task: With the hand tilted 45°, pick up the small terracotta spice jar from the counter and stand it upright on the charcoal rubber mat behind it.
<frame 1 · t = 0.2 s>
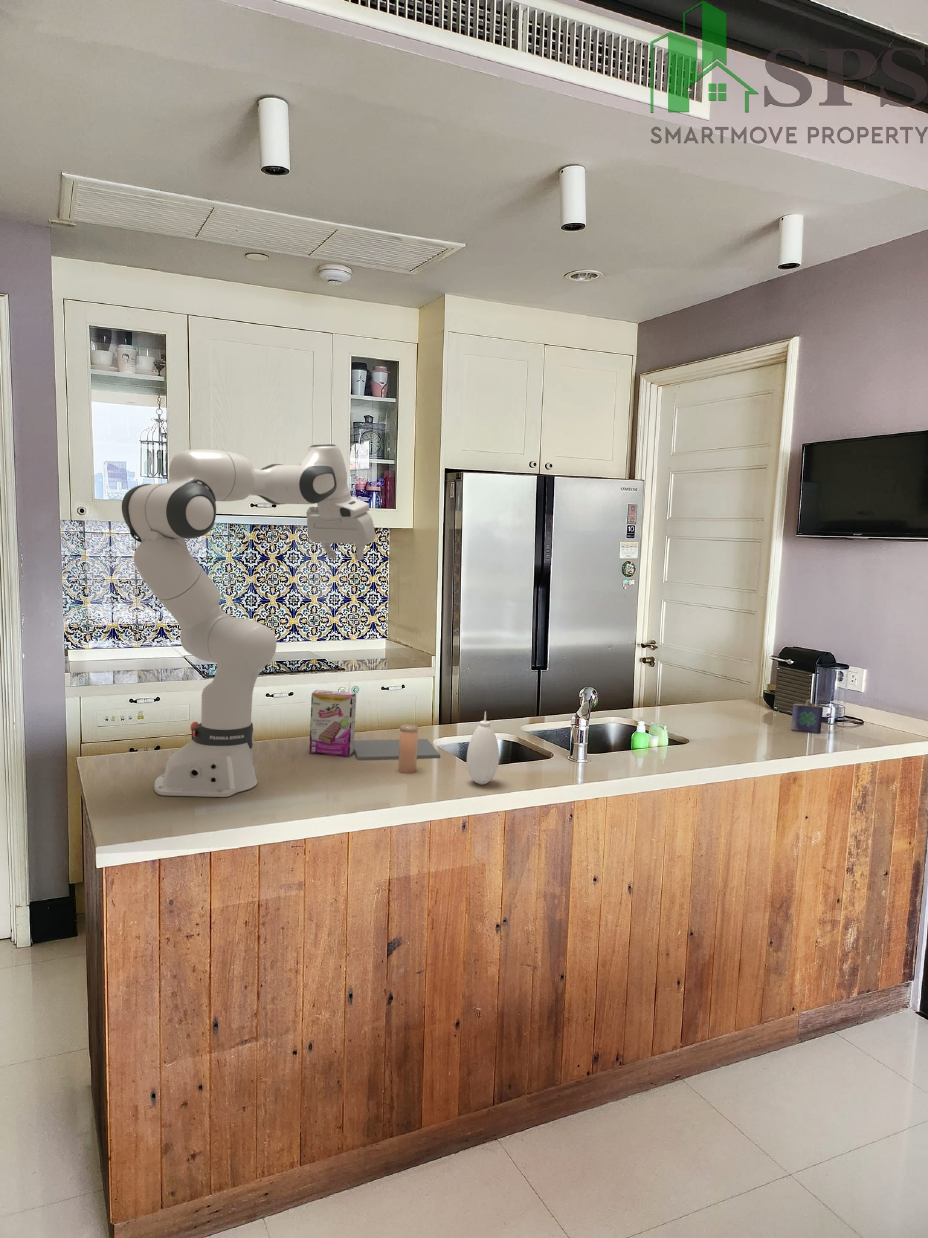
hand: (345, 558, 217), 52 cm above the countertop, tool tilted 20°, fingers open, 8 cm apart
spice jar: (407, 770, 210), on the countertop
candy bar box: (331, 754, 222), on the countertop
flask: (805, 732, 274), on the countertop
white air blower bulb: (481, 784, 203), on the countertop
mat: (394, 750, 227), on the countertop
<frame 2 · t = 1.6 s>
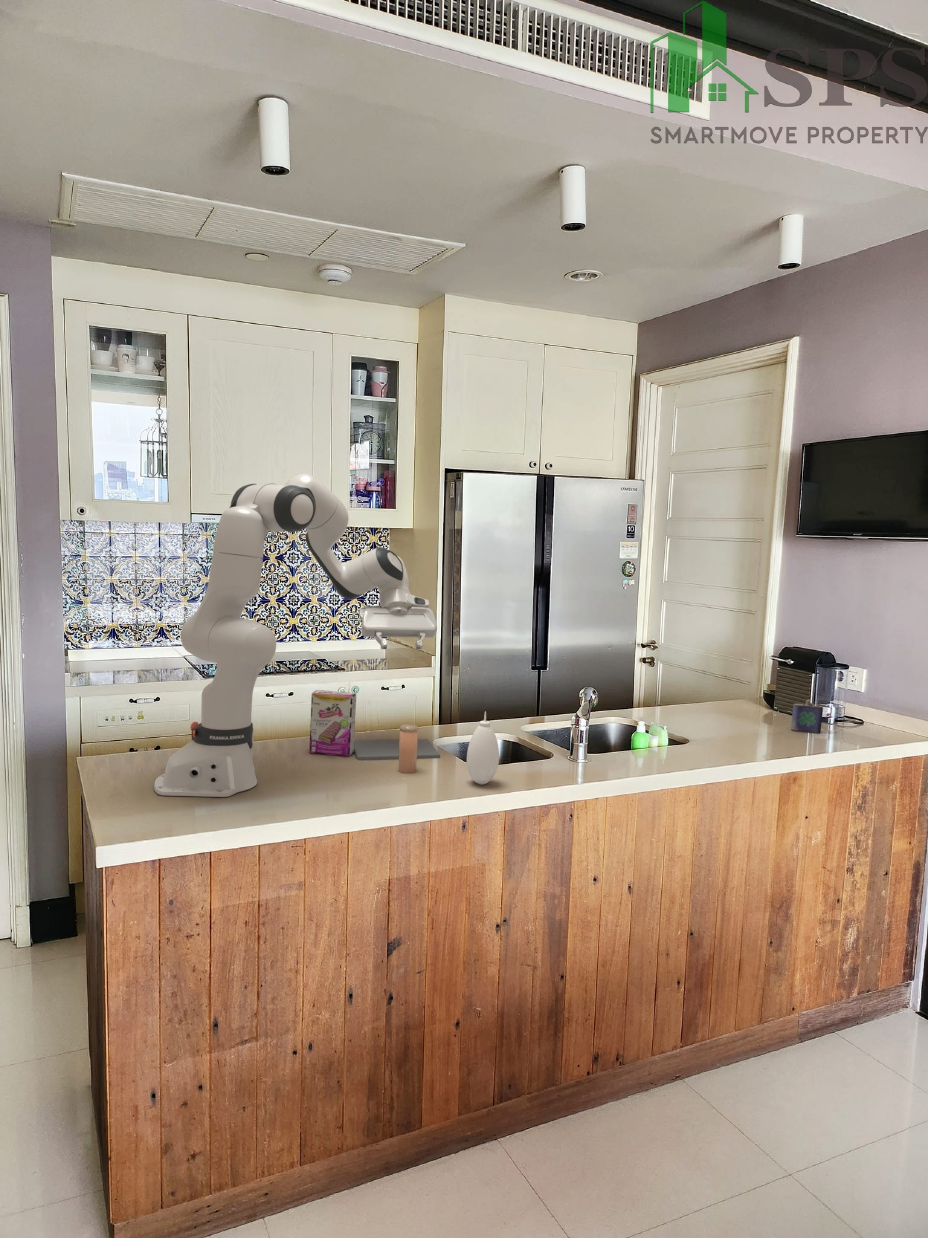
hand: (401, 648, 219), 29 cm above the countertop, tool tilted 45°, fingers open, 8 cm apart
nothing on the countertop moved.
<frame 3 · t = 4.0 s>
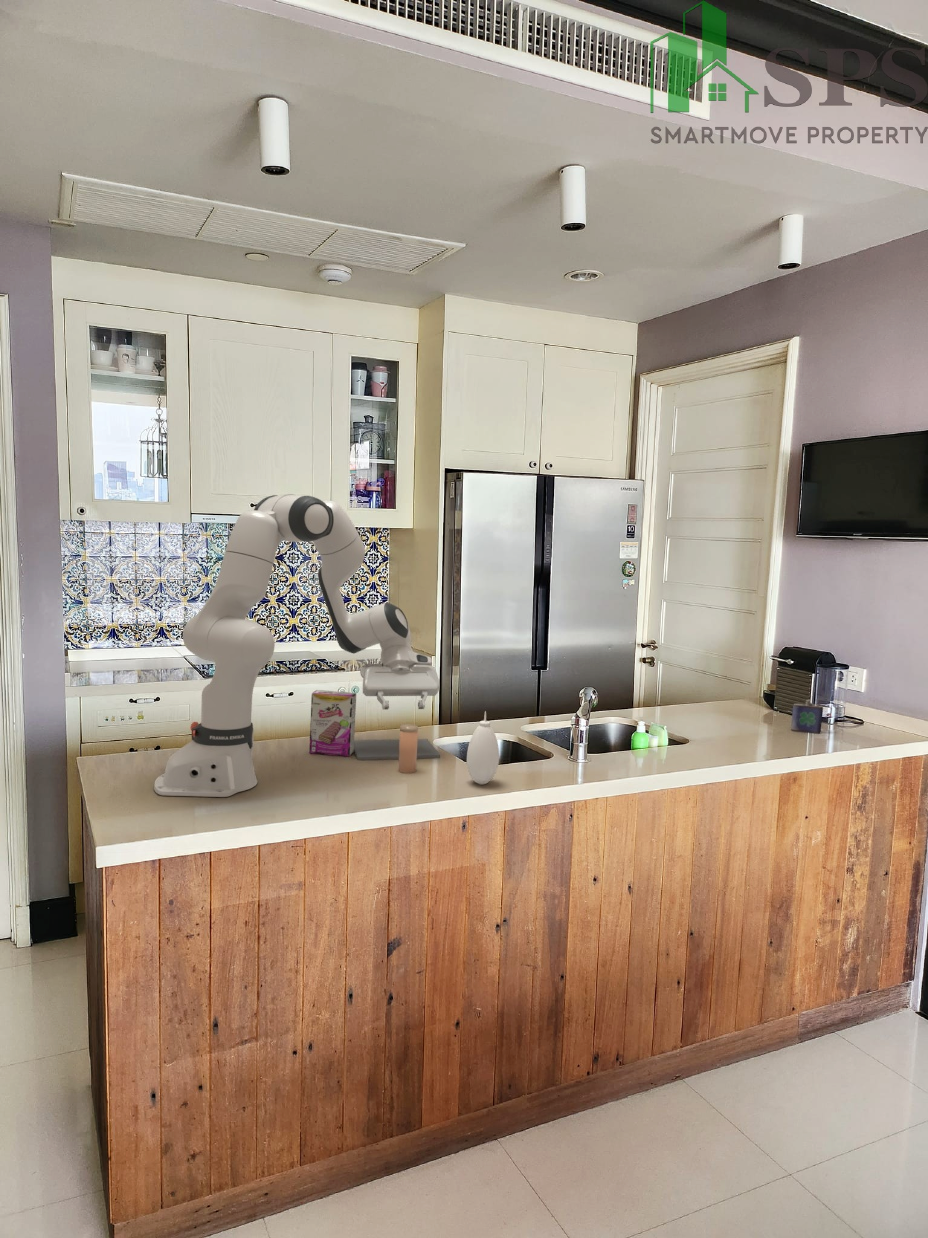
hand: (403, 708, 215), 14 cm above the countertop, tool tilted 45°, fingers open, 8 cm apart
nothing on the countertop moved.
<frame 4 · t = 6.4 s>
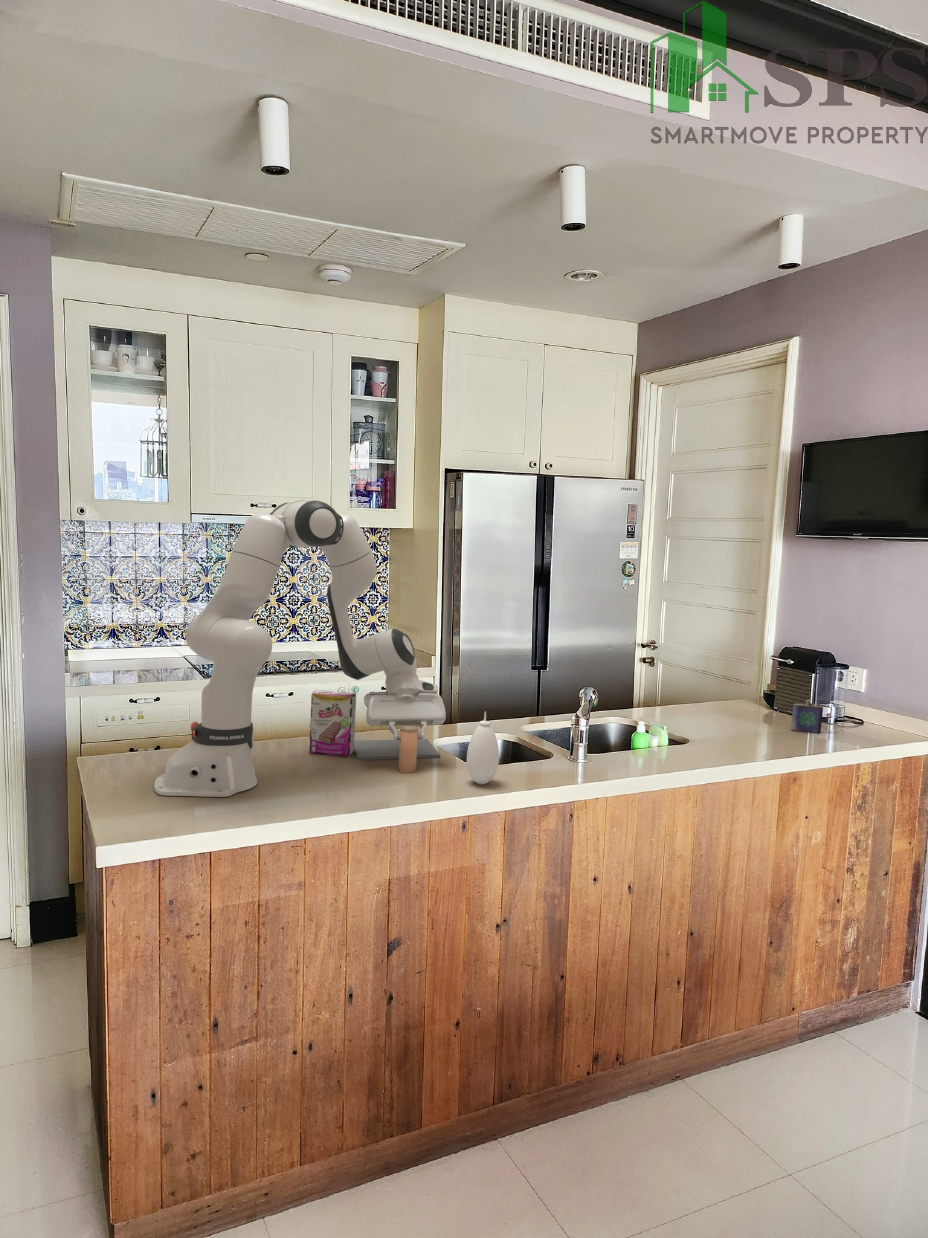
hand: (409, 738, 208), 8 cm above the countertop, tool tilted 45°, fingers closed on spice jar, 4 cm apart
spice jar: (407, 770, 210), on the countertop, touching gripper
everything else where it was.
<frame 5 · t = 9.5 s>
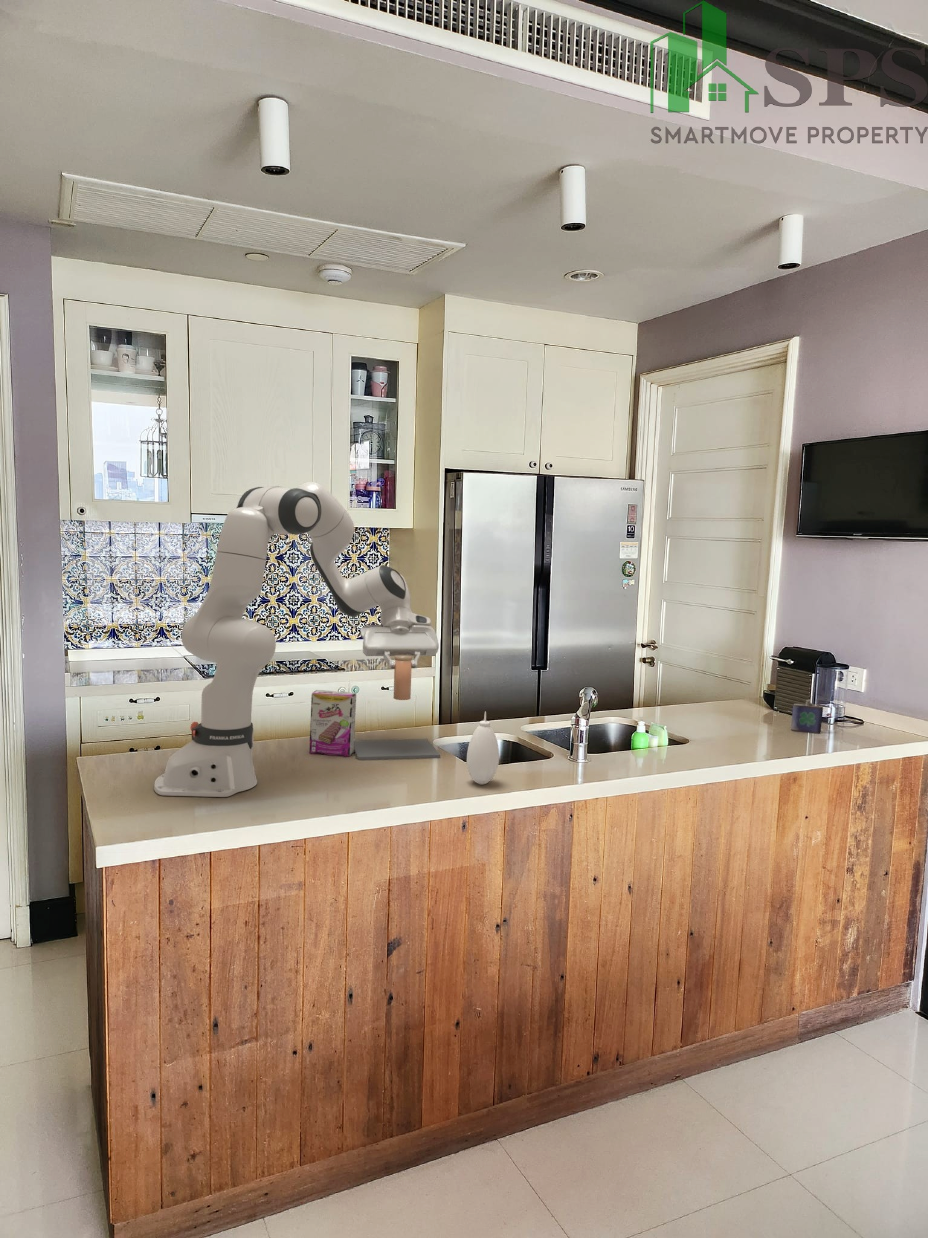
hand: (403, 667, 219), 24 cm above the countertop, tool tilted 45°, fingers closed on spice jar, 4 cm apart
spice jar: (402, 698, 220), point 16 cm above the countertop, touching gripper
everything else where it was.
when the fingers open (11 cm above the countertop, at t = 12.7 s): spice jar drops 1 cm, resting on mat.
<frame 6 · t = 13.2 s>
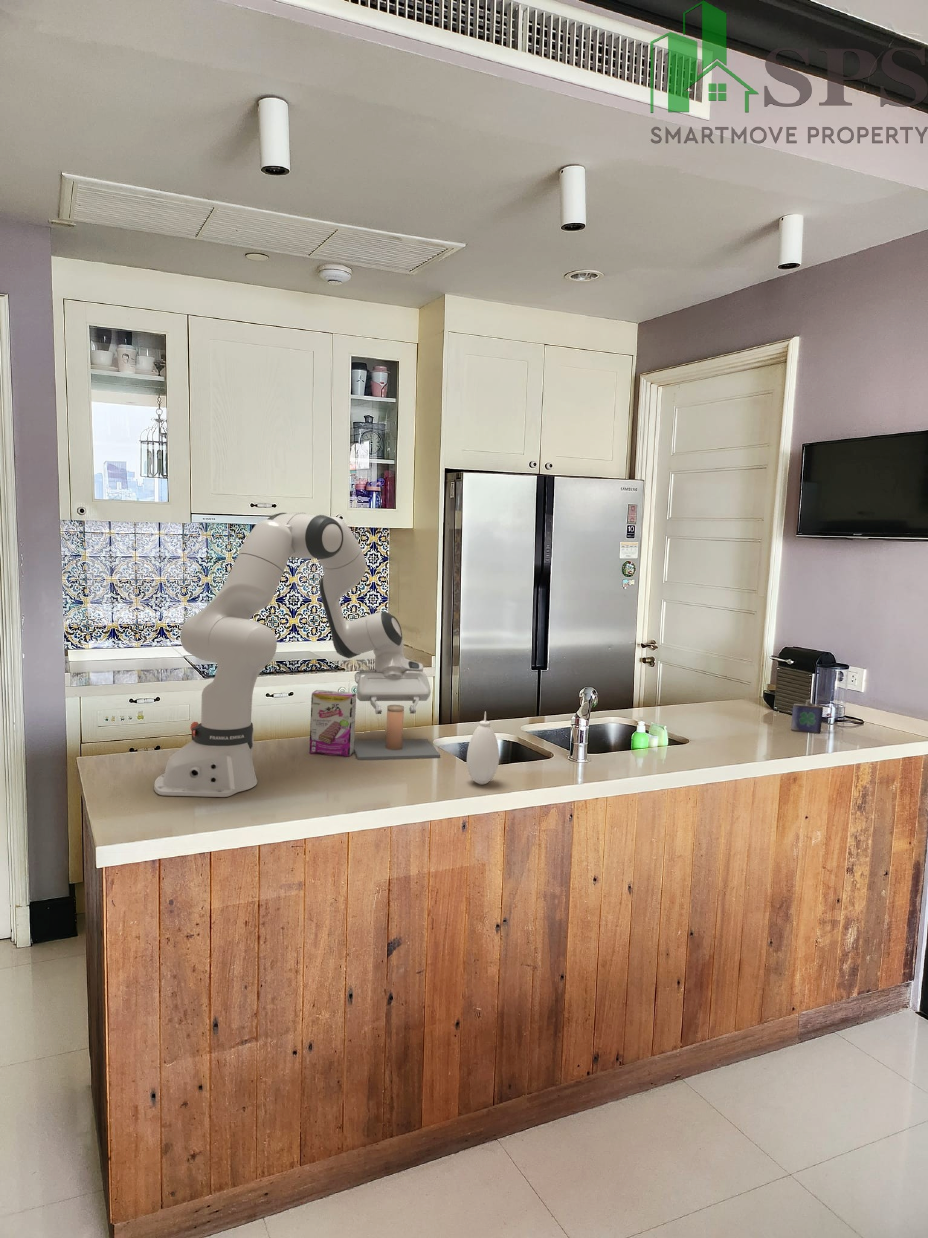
hand: (396, 712, 225), 11 cm above the countertop, tool tilted 45°, fingers open, 8 cm apart
spice jar: (393, 747, 227), point 1 cm above the countertop, touching mat
everything else where it was.
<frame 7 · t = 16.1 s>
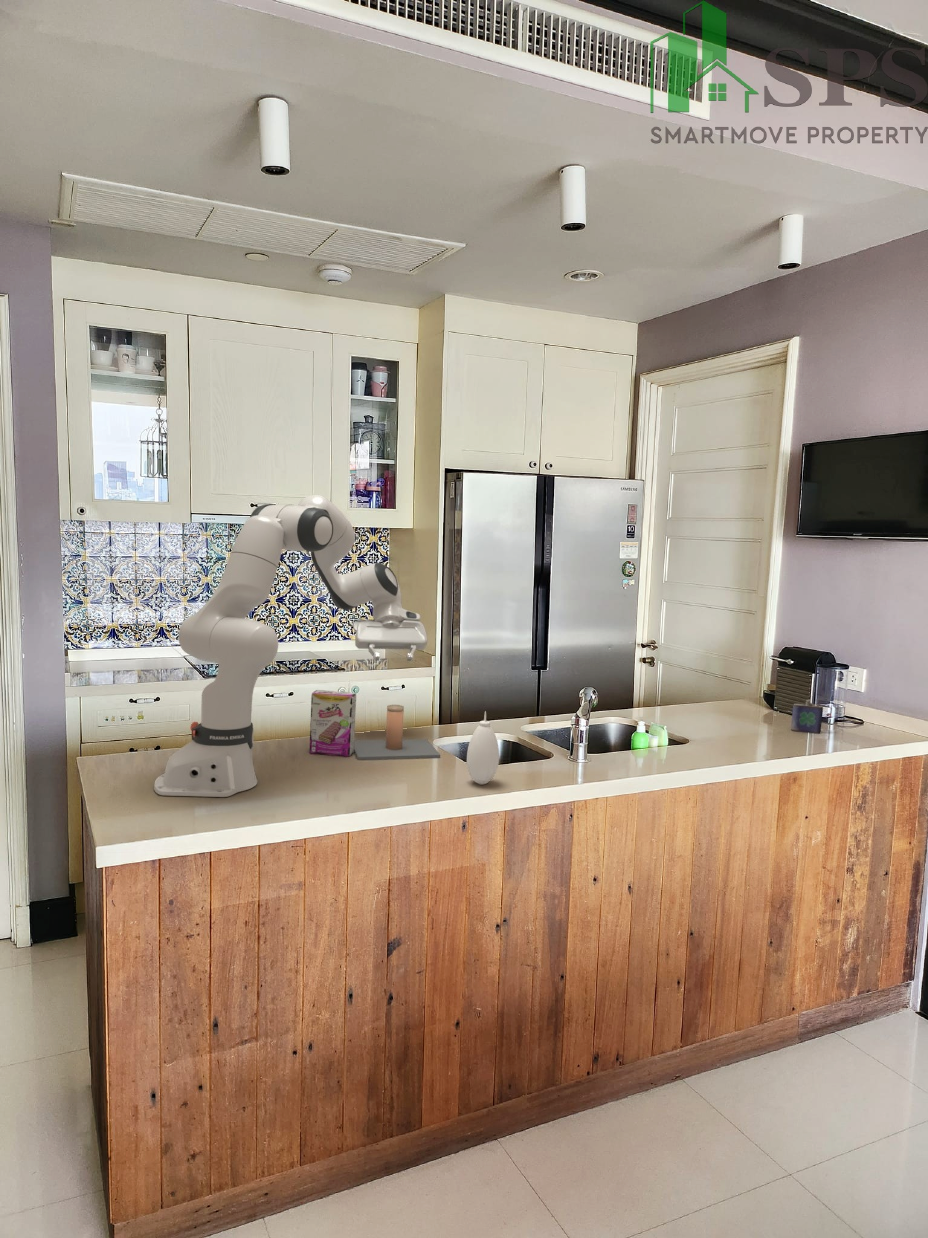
hand: (393, 659, 230), 24 cm above the countertop, tool tilted 45°, fingers open, 8 cm apart
nothing on the countertop moved.
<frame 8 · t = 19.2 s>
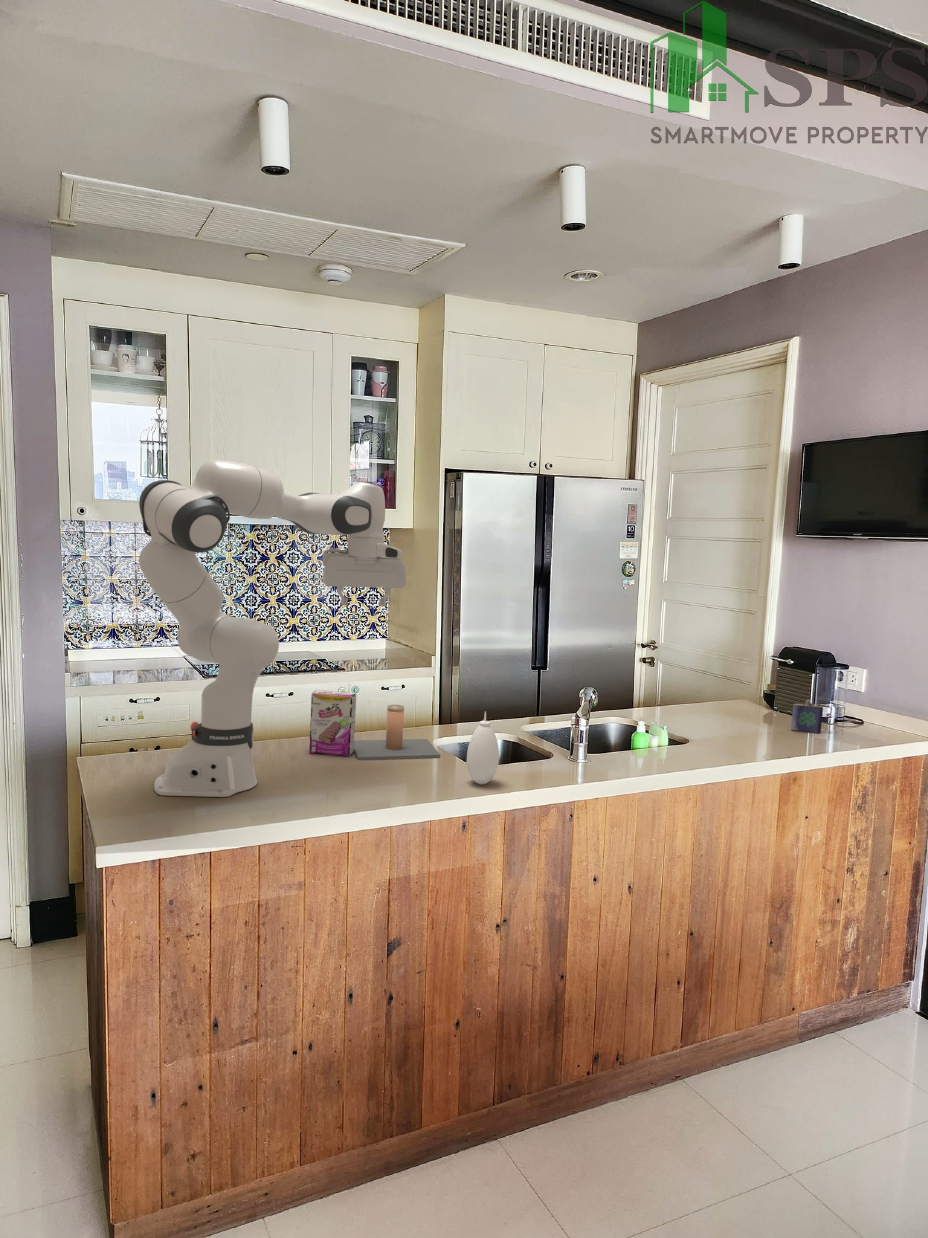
hand: (363, 605, 206), 41 cm above the countertop, tool pointing down, fingers open, 8 cm apart
nothing on the countertop moved.
at the end: spice jar inside the target area on the mat (0.1 cm from its centre), point 0.8 cm above the mat's base; spice jar tilted 0°; spice jar touching mat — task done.
